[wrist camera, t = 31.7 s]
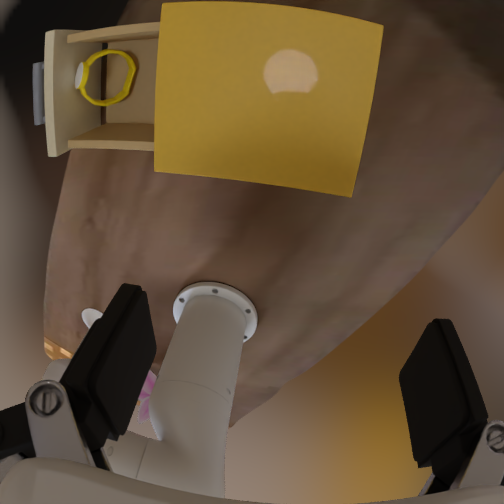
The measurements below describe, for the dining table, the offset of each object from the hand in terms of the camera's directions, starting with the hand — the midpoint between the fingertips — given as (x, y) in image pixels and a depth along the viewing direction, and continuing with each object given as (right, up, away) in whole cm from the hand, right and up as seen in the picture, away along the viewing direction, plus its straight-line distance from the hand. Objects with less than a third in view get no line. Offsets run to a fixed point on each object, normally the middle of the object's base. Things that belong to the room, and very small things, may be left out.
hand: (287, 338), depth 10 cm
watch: (-13, +21, +18) cm, 30 cm away
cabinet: (+1, +20, +20) cm, 28 cm away
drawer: (-14, +21, +19) cm, 32 cm away
